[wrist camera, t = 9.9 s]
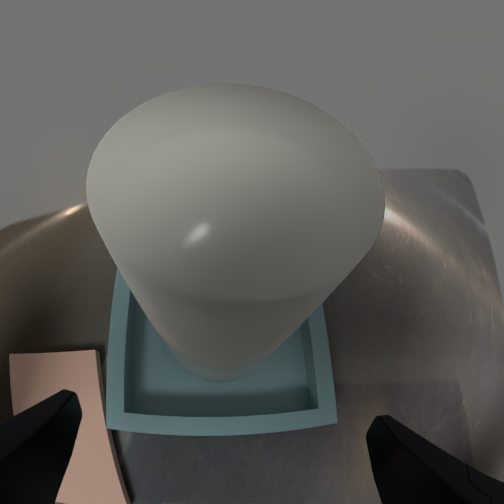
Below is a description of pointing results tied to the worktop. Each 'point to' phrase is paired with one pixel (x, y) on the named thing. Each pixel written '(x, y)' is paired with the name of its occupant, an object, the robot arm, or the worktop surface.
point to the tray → (210, 393)
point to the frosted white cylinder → (232, 217)
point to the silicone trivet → (91, 427)
